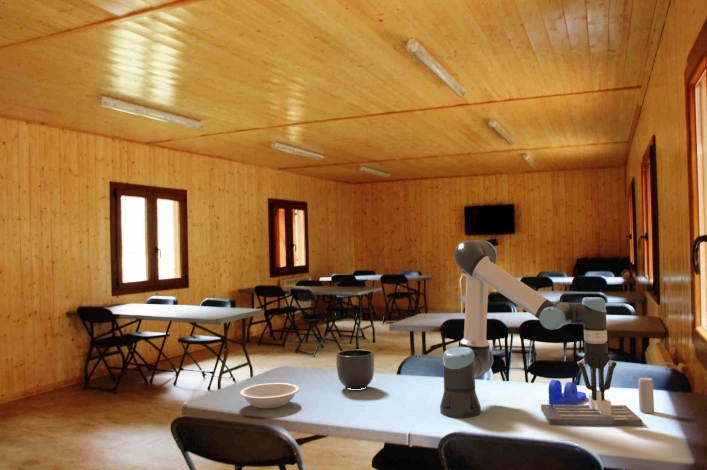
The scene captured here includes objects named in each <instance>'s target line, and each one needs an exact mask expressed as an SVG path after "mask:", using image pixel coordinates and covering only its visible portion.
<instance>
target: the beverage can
mask: <svg viewBox="0 0 707 470" xmlns="http://www.w3.org/2000/svg"><path fill="white" fill-rule="evenodd" d="M637 382H638V383H637V384H638V387H637V388H638V403H639V404H638V405H639V406H638V407H639V411H640V412H641V413H643V414H653V413H654V412H655V404H654V403H655V401H654V400H655V398H654V381H653V378H651V377H638V381H637Z"/></svg>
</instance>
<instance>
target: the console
mask: <svg viewBox="0 0 707 470" xmlns="http://www.w3.org/2000/svg"><path fill="white" fill-rule="evenodd" d="M540 410H541V412H542V414H543V416H545V419H546V420H547V422H548V424H549V425H551V426H595V427H596V426H602V427H603V426H608V427H611V426H612V427H614V426H615V427H643V420H642V419H641V418H640V416H638V415H637V414H636V413H634V411H633V410H631V409H630V408H629V407H628V406H627V405H625V404H624V405H623V404H620V405H619V404H617V405H616V404H614V405H613V404H611V415H601V414H600V411H597V409H591V408H590V407H589V404H577V405H551V404H540Z"/></svg>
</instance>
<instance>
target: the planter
mask: <svg viewBox="0 0 707 470" xmlns="http://www.w3.org/2000/svg"><path fill="white" fill-rule="evenodd" d="M335 357H336V358H335V363H336V372H337V377H338V379H339V381H340V383H341V384H342V385H343V386H344V387H345V389H346V388H351V389H361V388H365V387H368V386H369V385H370V383H371V382H372V380H373V378H374V374H375V352H374V351H372V350H369V349H346V350H345V349H344V350H342V351H341V350H340V351H337V352H336V354H335Z"/></svg>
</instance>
